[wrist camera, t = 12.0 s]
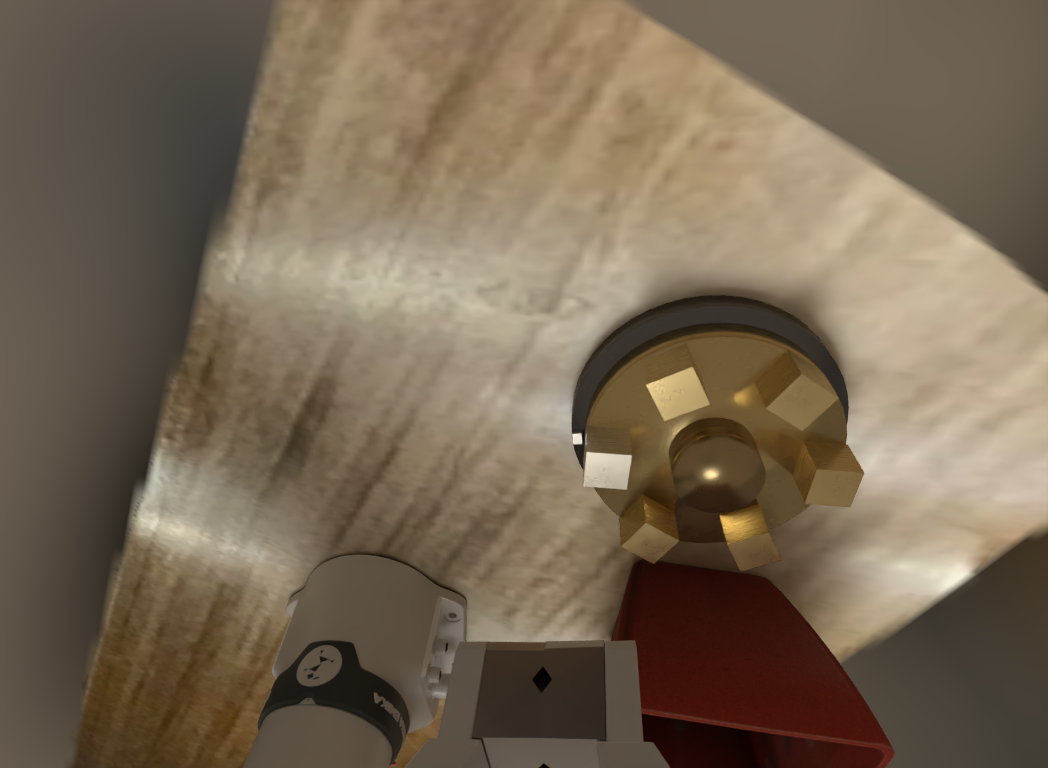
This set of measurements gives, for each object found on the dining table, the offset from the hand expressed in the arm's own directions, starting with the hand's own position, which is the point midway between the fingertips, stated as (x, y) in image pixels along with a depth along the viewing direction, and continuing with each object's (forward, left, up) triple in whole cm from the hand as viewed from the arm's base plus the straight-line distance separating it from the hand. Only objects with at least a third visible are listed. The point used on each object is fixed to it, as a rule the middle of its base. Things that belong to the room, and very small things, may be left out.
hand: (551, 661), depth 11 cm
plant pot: (-42, -7, -34) cm, 55 cm away
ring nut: (-19, -8, -32) cm, 38 cm away
